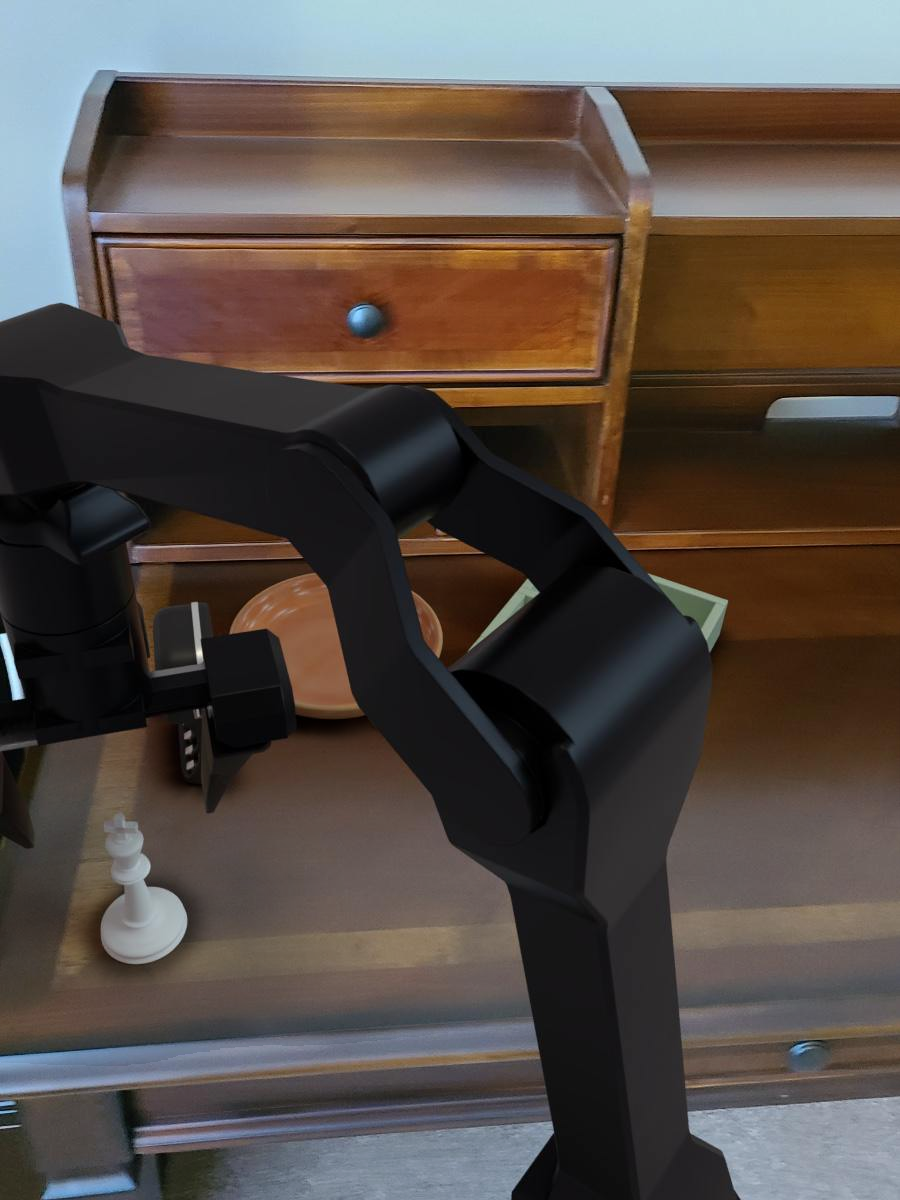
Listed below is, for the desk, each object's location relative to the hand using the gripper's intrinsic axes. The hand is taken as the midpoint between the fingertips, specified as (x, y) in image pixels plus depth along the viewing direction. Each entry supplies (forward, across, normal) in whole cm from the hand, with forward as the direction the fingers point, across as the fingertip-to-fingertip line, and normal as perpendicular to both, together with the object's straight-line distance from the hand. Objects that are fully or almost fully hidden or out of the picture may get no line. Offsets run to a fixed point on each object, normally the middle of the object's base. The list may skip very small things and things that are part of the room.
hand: (121, 823), depth 57 cm
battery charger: (+10, -4, -13) cm, 17 cm away
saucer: (+10, -16, -20) cm, 27 cm away
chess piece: (+10, 0, 0) cm, 10 cm away
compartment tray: (+10, -33, -14) cm, 37 cm away
